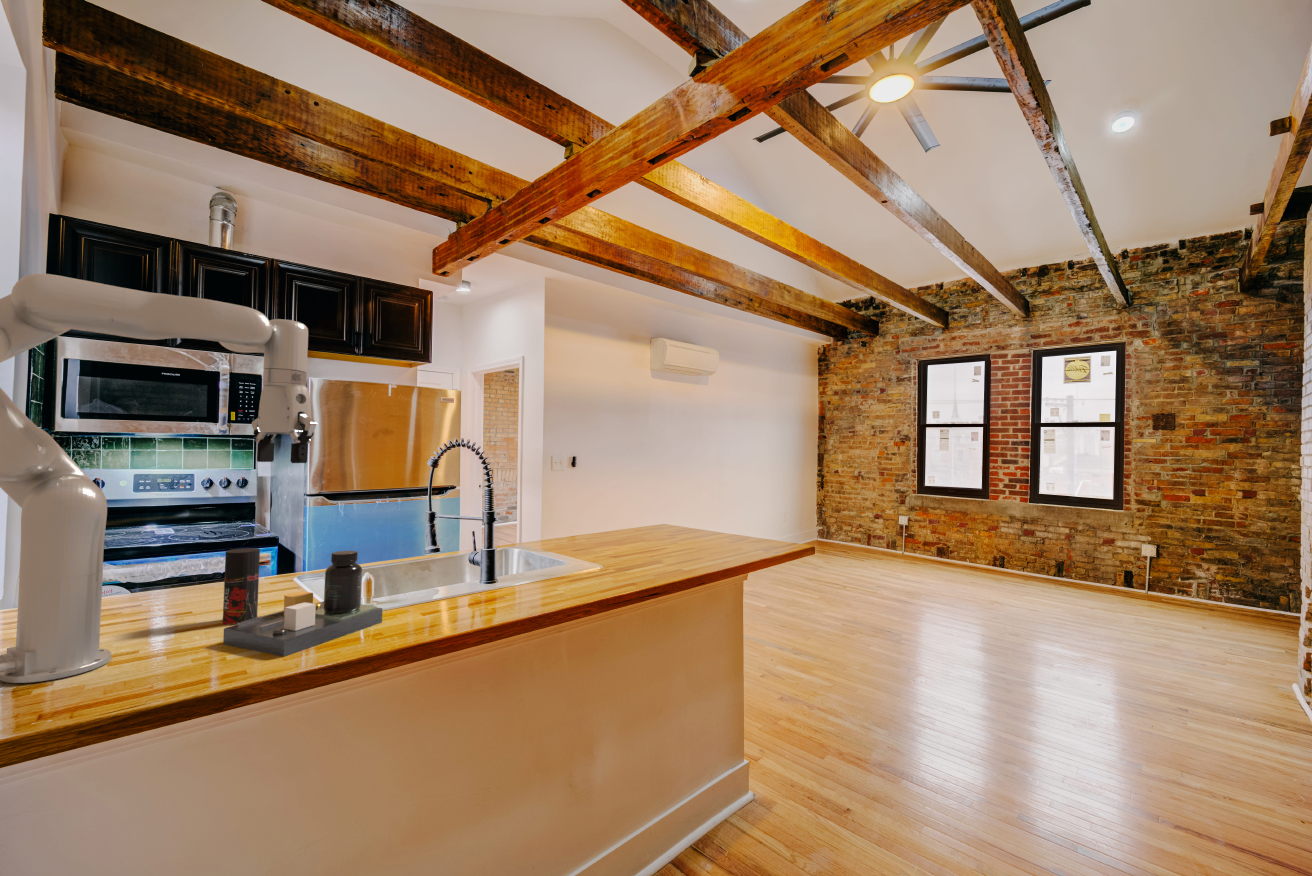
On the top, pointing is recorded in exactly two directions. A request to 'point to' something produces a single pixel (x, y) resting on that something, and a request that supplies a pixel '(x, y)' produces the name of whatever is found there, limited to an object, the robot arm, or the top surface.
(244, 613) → the deodorant
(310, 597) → the block
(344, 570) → the supplement bottle
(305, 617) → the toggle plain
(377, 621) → the panel
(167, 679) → the top surface
